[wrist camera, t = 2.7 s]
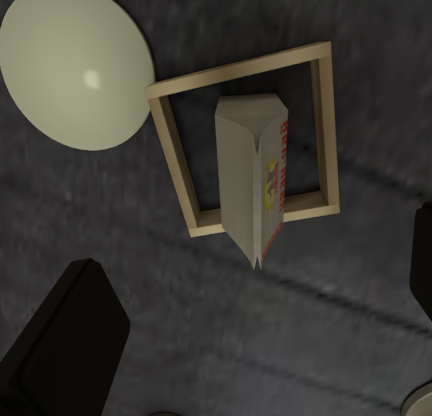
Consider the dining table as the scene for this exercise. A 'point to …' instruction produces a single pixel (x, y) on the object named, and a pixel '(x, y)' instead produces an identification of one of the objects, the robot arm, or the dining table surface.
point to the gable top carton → (252, 169)
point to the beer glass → (164, 414)
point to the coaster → (77, 70)
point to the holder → (315, 53)
